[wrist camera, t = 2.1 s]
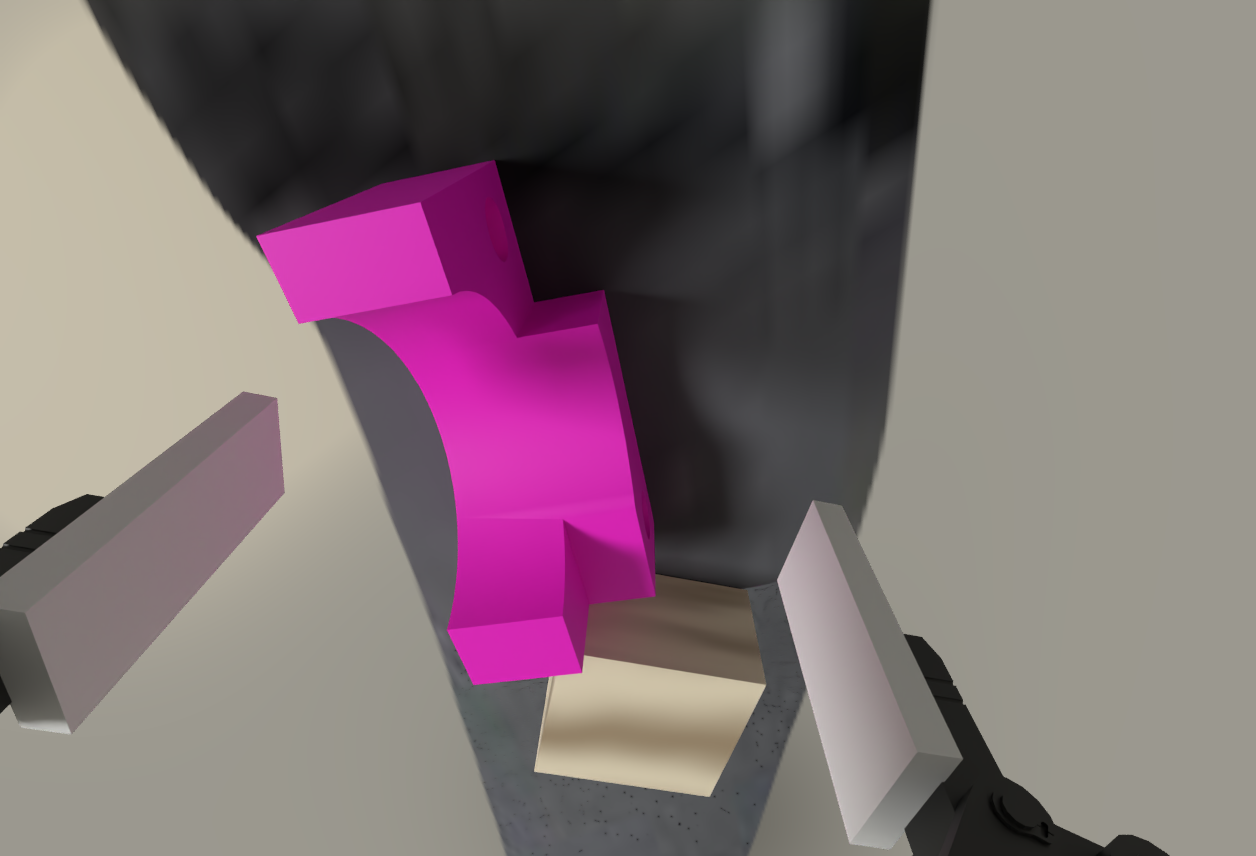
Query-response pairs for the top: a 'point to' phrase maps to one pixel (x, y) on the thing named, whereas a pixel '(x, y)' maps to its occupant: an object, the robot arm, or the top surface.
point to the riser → (657, 690)
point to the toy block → (493, 407)
